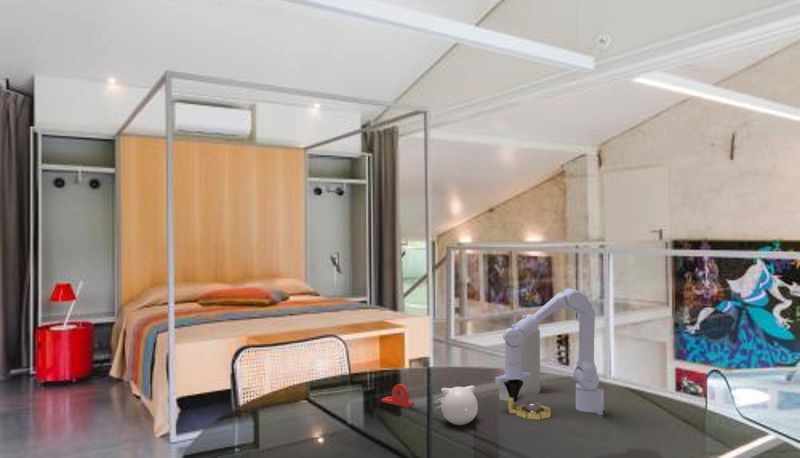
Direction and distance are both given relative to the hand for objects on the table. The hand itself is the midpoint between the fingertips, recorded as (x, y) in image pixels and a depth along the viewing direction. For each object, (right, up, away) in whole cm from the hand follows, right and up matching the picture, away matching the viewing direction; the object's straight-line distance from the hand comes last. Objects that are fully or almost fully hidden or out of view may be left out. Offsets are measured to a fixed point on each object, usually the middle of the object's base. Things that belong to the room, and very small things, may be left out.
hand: (513, 401), depth 198 cm
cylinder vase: (+10, -5, +27) cm, 29 cm away
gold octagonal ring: (+4, -3, -5) cm, 7 cm away
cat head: (-20, -5, -11) cm, 23 cm away
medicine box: (+1, -5, +13) cm, 14 cm away
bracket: (-41, -5, +13) cm, 43 cm away
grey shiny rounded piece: (+6, -4, -5) cm, 9 cm away
